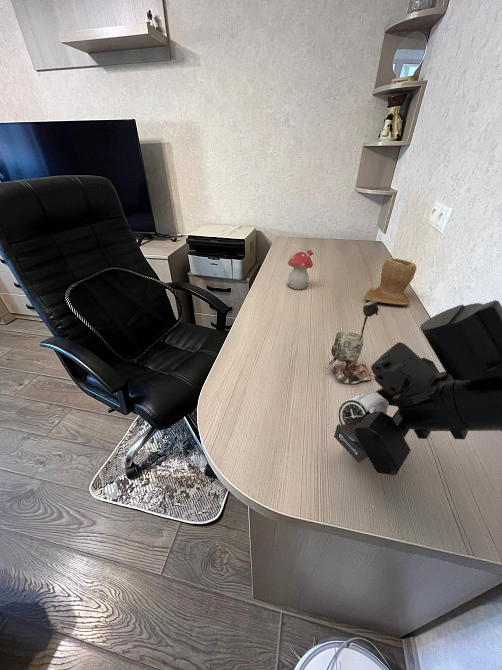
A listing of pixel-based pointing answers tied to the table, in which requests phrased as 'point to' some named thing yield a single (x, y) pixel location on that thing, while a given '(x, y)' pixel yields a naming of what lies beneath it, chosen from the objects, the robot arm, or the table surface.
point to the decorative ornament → (300, 269)
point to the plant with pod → (351, 351)
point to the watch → (353, 413)
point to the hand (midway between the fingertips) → (355, 412)
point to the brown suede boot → (393, 282)
